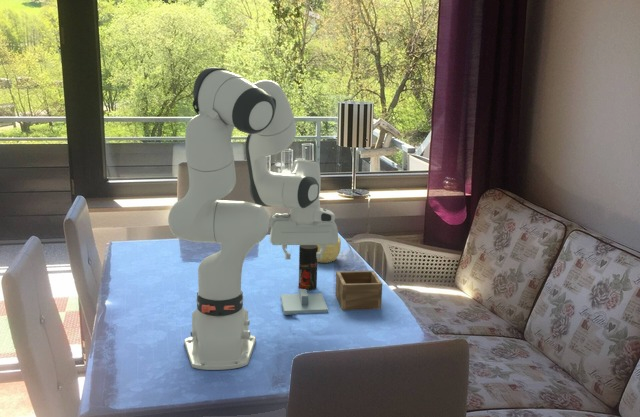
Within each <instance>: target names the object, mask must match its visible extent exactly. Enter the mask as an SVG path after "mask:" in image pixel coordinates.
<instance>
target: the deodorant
mask: <svg viewBox="0 0 640 417" xmlns="http://www.w3.org/2000/svg"><path fill="white" fill-rule="evenodd" d="M298 246H299V248H298V249H299V250H298V251H299V252H298V253H299V254H298V256H299V257H298V289H299V290H300V289H306V291H313V290H316V289H317V287H318V286H317V285H318V284H317V283H318V262H317V258H316V256H317V255H316V252H318V246H317V245H298Z"/></svg>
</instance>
